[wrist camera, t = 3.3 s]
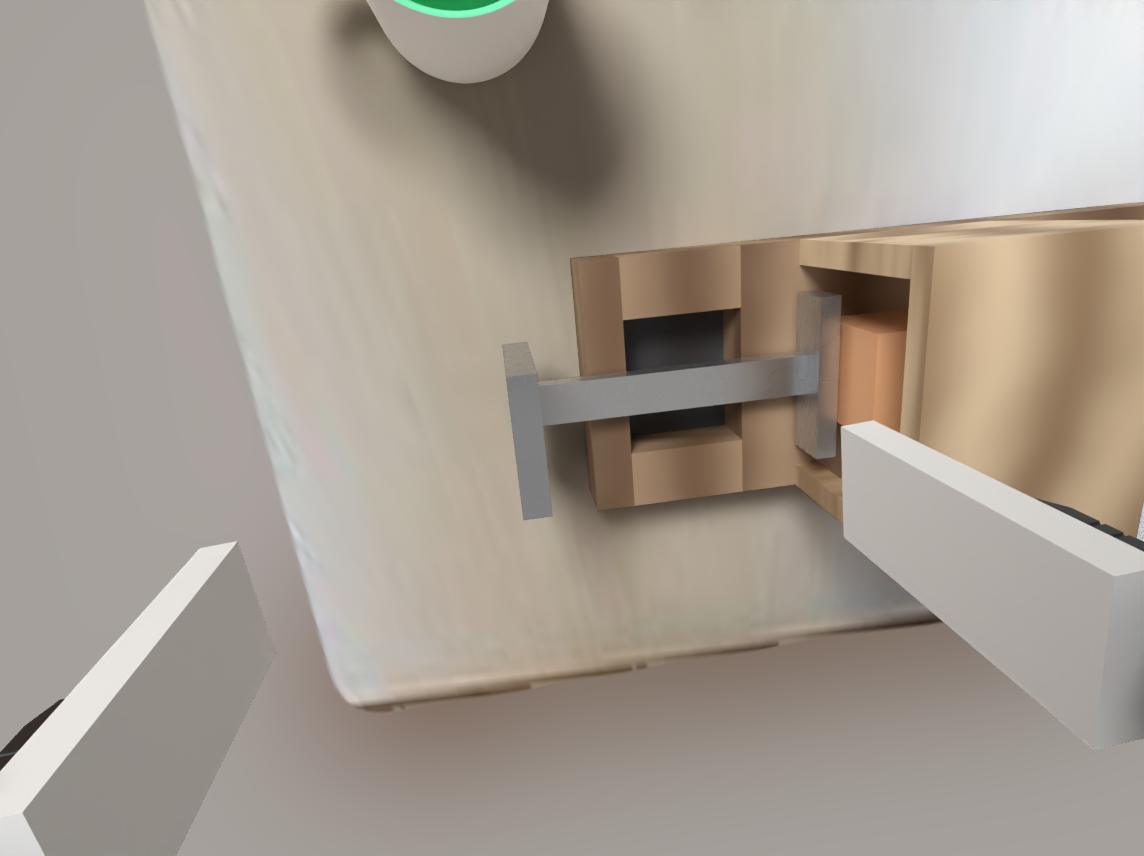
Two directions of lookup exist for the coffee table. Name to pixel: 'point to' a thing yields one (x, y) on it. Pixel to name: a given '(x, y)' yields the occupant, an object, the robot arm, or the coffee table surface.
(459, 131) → the coffee table surface
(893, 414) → the block
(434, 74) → the mug
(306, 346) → the coffee table surface
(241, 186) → the coffee table surface
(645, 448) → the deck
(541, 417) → the sled
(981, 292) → the tan box
